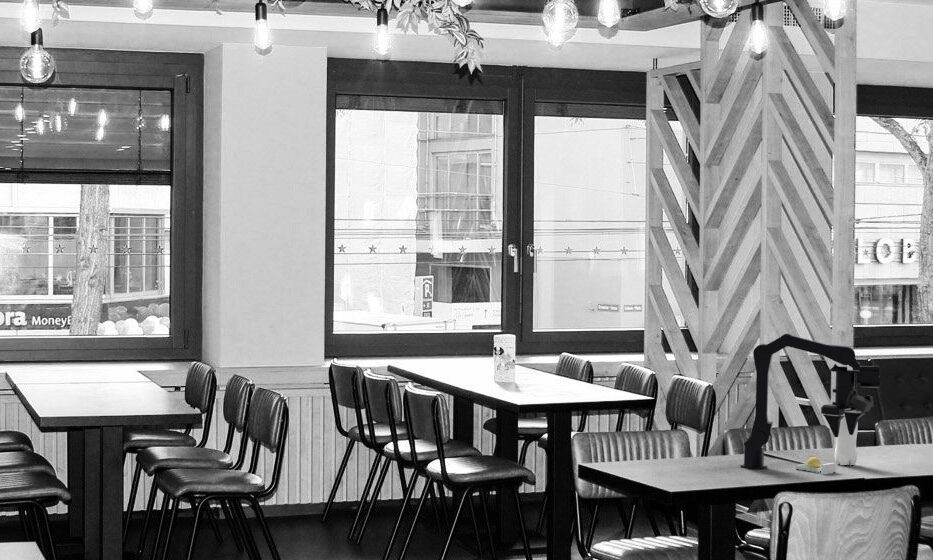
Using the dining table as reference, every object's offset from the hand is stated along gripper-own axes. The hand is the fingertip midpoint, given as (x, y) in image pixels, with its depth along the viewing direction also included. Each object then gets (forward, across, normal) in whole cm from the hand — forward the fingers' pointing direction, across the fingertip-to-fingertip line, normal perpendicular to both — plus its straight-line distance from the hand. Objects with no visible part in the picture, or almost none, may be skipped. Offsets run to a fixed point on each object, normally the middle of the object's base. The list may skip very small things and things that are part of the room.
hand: (843, 435), depth 368 cm
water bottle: (+12, +18, +9) cm, 24 cm away
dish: (+12, -1, +10) cm, 16 cm away
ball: (+10, -2, +9) cm, 13 cm away
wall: (+12, -2, +4) cm, 13 cm away
